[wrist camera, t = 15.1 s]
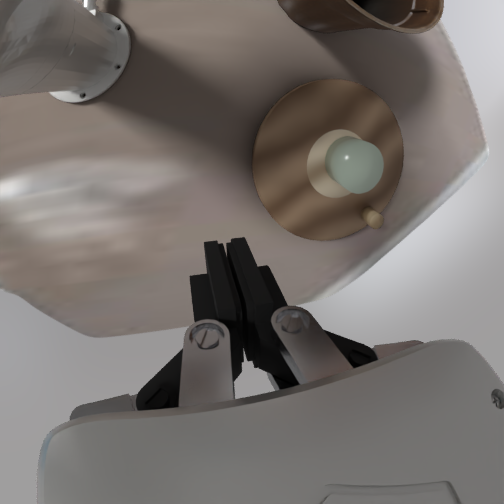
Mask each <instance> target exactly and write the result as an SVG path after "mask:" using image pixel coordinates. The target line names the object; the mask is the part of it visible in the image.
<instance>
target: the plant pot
mask: <svg viewBox="0 0 504 504" xmlns="http://www.w3.org/2000/svg"><path fill="white" fill-rule="evenodd" d="M277 1H278V3H279V5H280V6H281V7H282V8H283V9H284V10H285V12H286V13H287V15H288V16H289V17H290V18H291V19H292V20H293V21H295V22H296V23H298V24H299V25H301V26H303V27H305V28H308V29H310V30H313V31H317V32H323V33H333V32H339V31H346V30H354V29H363V28H375V29H382V30H394V31H397V32H402V33H422V32H426V31H428V30H430V29H432V28H433V27H434V26H435V25H436V24H437V23H438V22H439V20H440V18H441V16H442V12H443V8H444V0H277Z"/></svg>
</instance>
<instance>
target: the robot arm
mask: <svg viewBox="0 0 504 504" xmlns="http://www.w3.org/2000/svg"><path fill="white" fill-rule="evenodd" d="M82 2H83V4H82V5H81V4H79V3H78V2H77V1H75V0H0V97H5V96H14V95H22V94H32V93H43V92H49V93H50V94H51V95H52V96H53V97H55V98H56V99H58V100H60V101H63V102H70V103H76V102H83V101H88V100H90V99H93V98H95V97H97V96H99V95H100V94H102V93H104V92H105V91H106V90H107V89H109V88H110V87H111V86H112V85H113V84H114V83H115V82H116V81H117V80H118V78H119V77H120V75H121V74H122V72H123V71H124V69H125V67H126V65H127V63H128V59H129V56H130V50H131V40H130V35H129V32H128V30H127V28H126V26H125V25H124V23H123V22H122V21H121V20H120V19H118V18H117V17H115V16H114V15H111V14H109V13H104V12H98V6H96V0H82ZM120 27H121V29H120V30H118V28H120ZM119 65H120V66H121V67H120V69H117V67H118V66H119ZM84 94H86V96H85V97H84ZM226 247H227V256H226V253H225V249H224V246H223V243H221V244H218V242H217V241H209V242H204V249H205V259H206V268H207V274H200V275H193V276H190V285H191V295H192V304H193V312H194V321H195V323H193V324H192V325H191V326H189V328H188V329H187V330H186V333H185V336H184V346H183V349H182V350H181V351H180V352H179V353H178V354H177V355H176V356H175V357H174V358H173V359H171V360H170V362H168V363H167V364H166V365H165V366H164V367H163V368H162V369H161V370H160V371H159V372H158V373H157V374H156V375H155V376H154V377H153V378H152V379H151V380H150V381H149V382H148V383H147V384H146V385H145V386H144V387H143V388H142V389H141V390H140V391H139V392H138V394H136V395H132V396H130V395H129V394H125V395H121V396H118V397H113V398H110V399H105V400H102V401H97V402H93V403H88V404H83V405H80V406H78V407H76V408H75V409H74V410H73V411H72V413H71V416H70V421H68V422H65V423H63V424H61V425H59V426H57V427H56V428H54V429H53V430H51V431H50V432H49V434H47V436H46V438H45V439H44V441H43V444H42V447H41V450H40V455H39V461H38V469H37V504H504V384H503V382H502V381H501V380H500V378H499V377H498V375H497V374H496V373H495V371H494V370H493V368H492V367H491V366H490V365H489V364H488V362H487V361H486V360H485V358H484V357H483V356H482V355H481V354H480V353H479V352H478V351H477V350H476V349H475V348H474V347H473V346H472V345H470V344H469V343H467V342H465V341H461V340H455V339H448V340H437V341H430V342H427V343H423V342H421V341H416V340H412V341H406V342H398V343H391V344H383V345H375V346H374V348H370V347H368V346H366V345H364V344H361V343H358V342H355V341H353V340H350V339H347V338H344V337H341V336H339V335H336V334H334V333H331V332H328V331H326V330H323V329H322V327H321V326H320V325H319V324H318V322H317V321H316V320H315V318H314V317H313V316H312V315H311V314H310V313H309V312H308V311H307V310H305V309H303V308H301V307H297V306H288V305H287V303H286V301H285V298H284V296H283V294H282V292H281V290H280V288H279V286H278V284H277V282H276V280H275V278H274V276H273V274H272V272H271V270H270V268H269V266H267V265H266V266H259V267H257V264H256V262H255V260H254V257H253V255H252V253H251V250H250V248H249V246H248V244H247V241H246V239H245V237H242V238H234V239H231V242H230V243H226ZM243 348H244V351H245V354H246V358H247V361H253V364H254V368H258V367H259V369H262V370H263V371H266V372H267V375H268V378H269V380H270V382H271V384H272V386H273V387H274V389H275V391H273V392H269V393H265V394H260V395H255V396H250V397H245V398H240V399H235V389H234V381H235V380H236V378H237V377H238V376H239V375H240V373H241V372H242V362H244V356H243Z"/></svg>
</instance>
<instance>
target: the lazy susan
mask: <svg viewBox="0 0 504 504" xmlns="http://www.w3.org/2000/svg"><path fill="white" fill-rule="evenodd" d="M344 136H352V137H355V138H358V139H361V140H363V141H366V142H369V143H371V144H373V145H375V146H376V147H377V148H378V149H379V151H380V152H381V154H382V157H383V162H384V168H383V173H382V176H381V178H380V180H379V182H378V183H377V184H376V186H375V187H374V188H372V189H371V190H370V191H368V192H365V193H361V194H356V193H352V192H350V191H348V190H347V189H345V188H344V187H343V186H341V185H340V184H338V183H337V182H335V181H334V180H332V179H331V178H330V176H329V175H328V173H327V171H326V168H325V157H326V153H327V150H328V148H329V147H330V145H331V144H332V143H333V142H334V141H335V140H337V139H339V138H341V137H344ZM403 157H404V155H403V140H402V135H401V131H400V128H399V125H398V123H397V120H396V118H395V116H394V114H393V113H392V111H391V110H390V108H389V107H388V105H387V104H386V103H385V102H384V101H383V100H382V99H381V98H380V97H379V96H378V95H377V94H376V93H374V92H373V91H372V90H370V89H368V88H367V87H365V86H363V85H360V84H358V83H356V82H352V81H348V80H341V79H324V80H316V81H312V82H308V83H306V84H303V85H301V86H298V87H296V88H295V89H293V90H291V91H290V92H288V93H287V94H286V95H284V96H283V97H282V98H281V99H279V100H278V101H277V103H276V104H275V105H274V106H273V107H272V108H271V109H270V111H269V112H268V114H267V115H266V117H265V118H264V120H263V122H262V124H261V126H260V128H259V130H258V133H257V136H256V139H255V143H254V148H253V154H252V172H253V179H254V183H255V187H256V190H257V193H258V196H259V198H260V199H261V201H262V203H263V205H264V207H265V208H266V210H267V211H268V212H269V214H270V215H271V216H272V218H273V219H274V220H275V221H276V222H277V223H278V224H279V225H280V226H282V227H283V228H284V229H286V230H287V231H289V232H291V233H293V234H294V235H297V236H300V237H302V238H306V239H310V240H320V241H324V240H334V239H339V238H342V237H346V236H349V235H351V234H353V233H355V232H357V231H359V230H361V229H362V228H364V227H365V226H367V225H369V226H371V227H372V228H373V229H378V228H380V227H381V226H382V224H383V221H384V218H383V216H382V215H380V213H381V212H382V211H383V210H384V208H385V207H386V206H387V204H388V203H389V201H390V200H391V198H392V196H393V194H394V192H395V190H396V188H397V185H398V183H399V179H400V176H401V172H402V167H403Z"/></svg>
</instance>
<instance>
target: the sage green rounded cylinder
mask: <svg viewBox="0 0 504 504" xmlns="http://www.w3.org/2000/svg"><path fill="white" fill-rule="evenodd" d="M325 168H326V171H327V173H328V175H329V176H330V178H331V179H332V180H334V181H335V182H337V183H338V184H340V185H341V186H343V187H344V188H345V189H347V190H348V191H350V192H352V193H356V194H361V193H365V192H368V191H370V190H371V189H372V188H374V187H375V186H376V184H377V183H378V182H379V180H380V178H381V176H382V173H383V168H384V162H383V157H382V154H381V152H380V151H379V149H378V148H377V147H376V146H375V145H373V144H371V143H369V142H366V141H363V140H361V139H358V138H355V137H352V136H344V137H341V138H339V139H337V140H335V141H334V142H333V143H332V144H331V145H330V147H329V148H328V150H327V153H326V157H325Z"/></svg>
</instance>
